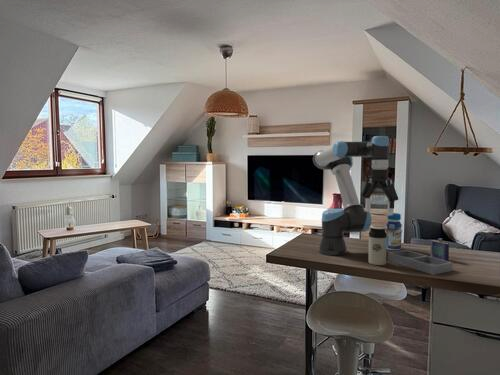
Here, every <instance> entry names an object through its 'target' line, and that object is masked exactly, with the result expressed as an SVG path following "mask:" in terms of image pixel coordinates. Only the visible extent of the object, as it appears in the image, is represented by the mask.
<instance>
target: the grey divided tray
mask: <svg viewBox="0 0 500 375" xmlns="http://www.w3.org/2000/svg"><path fill="white" fill-rule="evenodd" d="M387 256H388V257H387V258H388V259H387V260H388V261H389V262H392V263H395V264H399V265H401V266H405V267H408V268H411V269H414V270H417V271H419V272H423V273H426V274H429V275H433V276H434V275H440V274H444V273H449V272H453V262H452V261H445V260H442V259H438V258H434V257H431V255H430V256H429V255H426V254H423V253H419V252H415V251H411V250H408V249H403V250H402V249H401V250H395V251H391V252H388V253H387Z"/></svg>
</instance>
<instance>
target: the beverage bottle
mask: <svg viewBox="0 0 500 375" xmlns="http://www.w3.org/2000/svg"><path fill="white" fill-rule="evenodd" d="M401 216H402V215H401V214H400V213H397V212H396V213H395V212H393V215H389V216H388V215H387V220H388V221H387V222H386V225H385V227H386V229H385V232H386V234H387V240H386V250H390V251H402V233H403V229H402V227H403V224H402V222H401V220H402V218H401Z"/></svg>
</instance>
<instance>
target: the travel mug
mask: <svg viewBox="0 0 500 375" xmlns="http://www.w3.org/2000/svg"><path fill="white" fill-rule="evenodd" d="M386 228H387V227H386V225H385V226H384V225H379V224H371V226H370V228H369V230H370V231H369V232H368V258H367V259H368V262H367V263H369V264H370V265H373V266H384V265H386V264H387V248H386V240H387V234H386Z"/></svg>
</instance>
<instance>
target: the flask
mask: <svg viewBox="0 0 500 375" xmlns="http://www.w3.org/2000/svg"><path fill="white" fill-rule="evenodd" d="M449 255H450V243H449V242H447V241H444V240H443V238H437V240H434V239H433V240H431V241H430V256H431V257H434V258H438V259H442V260H445V261H449V260H450V256H449ZM449 262H450V261H449Z"/></svg>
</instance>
